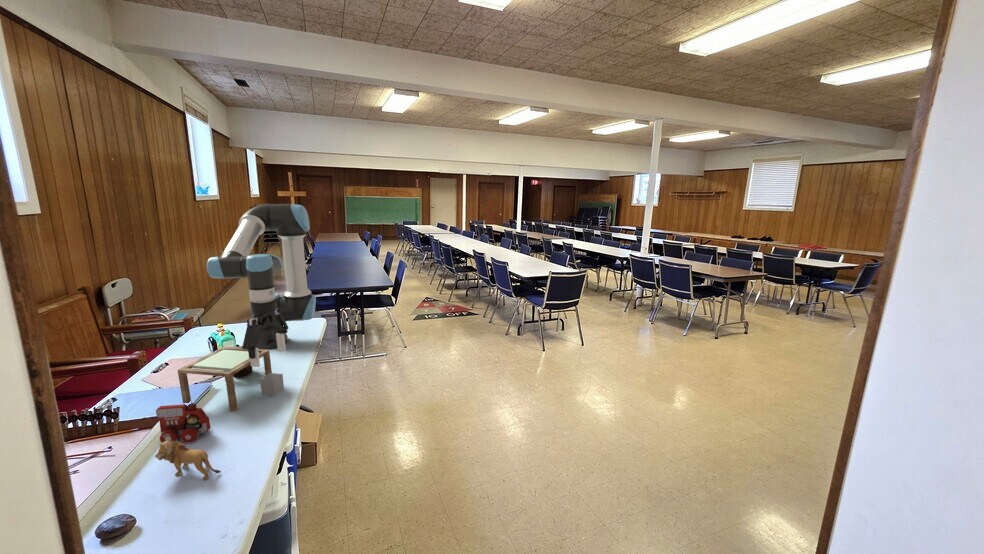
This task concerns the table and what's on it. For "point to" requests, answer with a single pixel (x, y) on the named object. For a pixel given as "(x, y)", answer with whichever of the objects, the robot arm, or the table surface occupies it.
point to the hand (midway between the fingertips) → (269, 358)
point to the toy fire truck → (182, 422)
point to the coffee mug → (243, 371)
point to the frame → (227, 374)
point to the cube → (272, 384)
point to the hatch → (223, 360)
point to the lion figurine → (184, 457)
